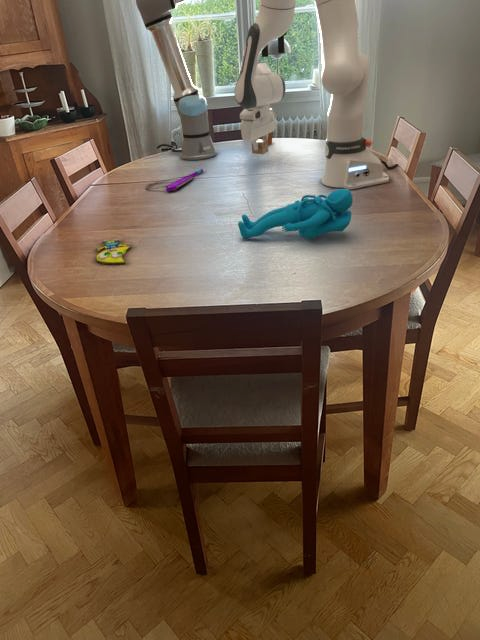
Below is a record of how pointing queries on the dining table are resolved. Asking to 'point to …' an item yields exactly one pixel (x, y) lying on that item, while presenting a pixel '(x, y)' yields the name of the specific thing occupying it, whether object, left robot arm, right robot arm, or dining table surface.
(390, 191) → the dining table surface
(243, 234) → the toy
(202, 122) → the left robot arm
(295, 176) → the dining table surface
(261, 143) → the block
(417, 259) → the dining table surface
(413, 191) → the dining table surface
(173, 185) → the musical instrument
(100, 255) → the toy
